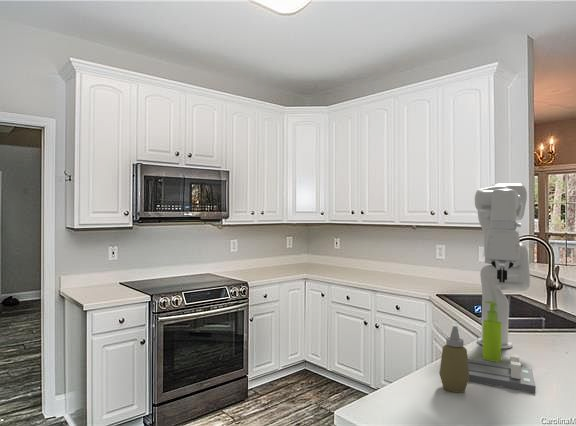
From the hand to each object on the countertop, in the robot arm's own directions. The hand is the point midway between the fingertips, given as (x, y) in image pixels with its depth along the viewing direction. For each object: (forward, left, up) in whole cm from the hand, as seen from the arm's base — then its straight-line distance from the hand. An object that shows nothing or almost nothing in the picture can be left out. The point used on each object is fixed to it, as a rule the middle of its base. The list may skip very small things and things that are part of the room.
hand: (501, 281), depth 139 cm
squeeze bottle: (+25, -12, -29) cm, 40 cm away
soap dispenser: (-12, -3, -29) cm, 32 cm away
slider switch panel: (+8, -2, -29) cm, 30 cm away
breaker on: (+4, +4, -27) cm, 27 cm away
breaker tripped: (+12, +4, -27) cm, 29 cm away
